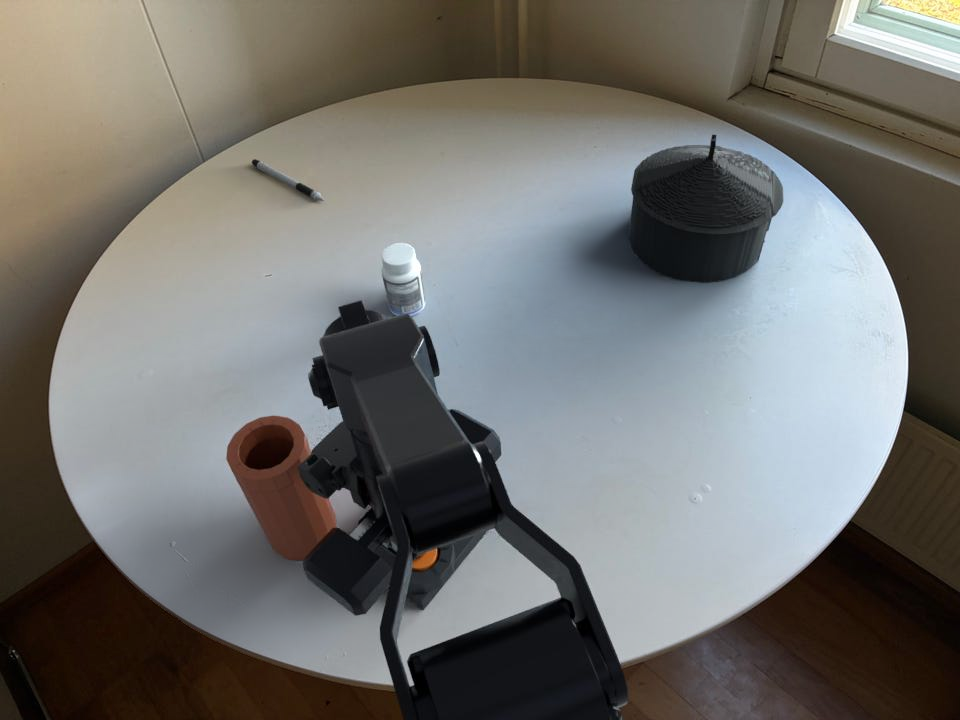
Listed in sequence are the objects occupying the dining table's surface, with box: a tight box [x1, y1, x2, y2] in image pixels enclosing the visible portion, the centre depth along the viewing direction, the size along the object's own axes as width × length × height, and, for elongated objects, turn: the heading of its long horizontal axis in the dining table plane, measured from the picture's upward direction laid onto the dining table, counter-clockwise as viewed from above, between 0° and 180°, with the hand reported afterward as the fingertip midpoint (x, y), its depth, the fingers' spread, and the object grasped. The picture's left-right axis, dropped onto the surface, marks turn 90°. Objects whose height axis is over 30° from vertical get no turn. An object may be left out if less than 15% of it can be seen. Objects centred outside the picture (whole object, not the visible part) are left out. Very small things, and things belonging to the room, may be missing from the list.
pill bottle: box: [381, 242, 427, 317], centre depth 93 cm, size 5×5×8 cm
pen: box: [251, 158, 325, 202], centre depth 114 cm, size 1×16×1 cm, turn 49°
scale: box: [348, 528, 488, 610], centre depth 73 cm, size 13×10×4 cm
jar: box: [226, 414, 337, 561], centre depth 70 cm, size 7×7×14 cm
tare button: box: [412, 549, 439, 572], centre depth 70 cm, size 3×3×2 cm
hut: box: [628, 134, 784, 284], centre depth 96 cm, size 18×18×15 cm
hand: (419, 552), depth 69 cm, fingers closed, pressing on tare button
